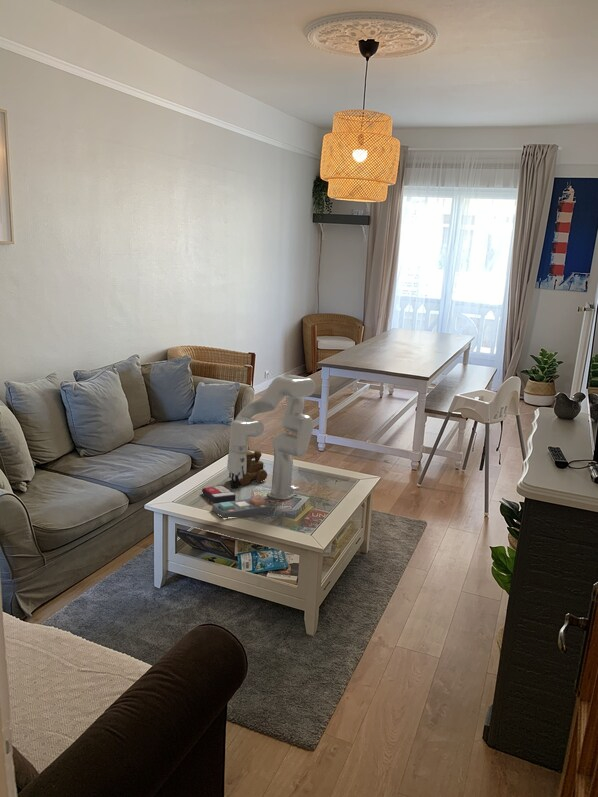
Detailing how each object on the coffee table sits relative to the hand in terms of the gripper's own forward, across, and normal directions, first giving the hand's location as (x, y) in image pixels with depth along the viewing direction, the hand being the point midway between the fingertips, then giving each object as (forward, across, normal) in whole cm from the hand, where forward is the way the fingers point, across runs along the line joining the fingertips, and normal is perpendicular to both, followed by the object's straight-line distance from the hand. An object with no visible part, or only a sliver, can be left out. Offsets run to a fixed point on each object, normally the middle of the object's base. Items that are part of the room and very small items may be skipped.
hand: (234, 488), depth 276 cm
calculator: (+12, +20, -3) cm, 23 cm away
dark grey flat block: (+12, 0, -5) cm, 13 cm away
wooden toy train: (+11, +36, -28) cm, 47 cm away
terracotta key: (+10, 0, -13) cm, 16 cm away
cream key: (+10, 0, -5) cm, 12 cm away
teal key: (+10, 0, +3) cm, 10 cm away
